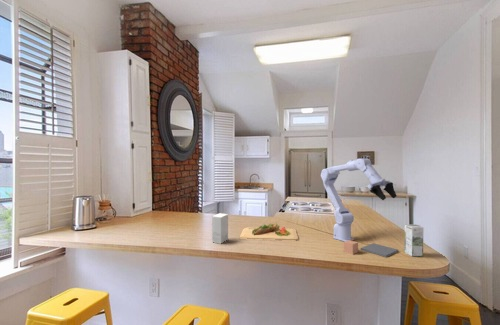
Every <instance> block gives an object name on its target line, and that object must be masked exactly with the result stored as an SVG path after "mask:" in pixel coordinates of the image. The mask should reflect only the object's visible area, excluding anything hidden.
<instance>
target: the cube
mask: <svg viewBox="0 0 500 325" xmlns="http://www.w3.org/2000/svg"><path fill="white" fill-rule="evenodd" d="M343 252H345V253H346V254H350V255H354V254H357V253H359V242H357V241H354V240H351V241H350V240H348V241H343Z"/></svg>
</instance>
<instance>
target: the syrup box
mask: <svg viewBox="0 0 500 325" xmlns="http://www.w3.org/2000/svg"><path fill="white" fill-rule="evenodd" d="M404 253H405V254H406V255H409V256H410V257H424V227H423V226H421V225H420V224H404Z"/></svg>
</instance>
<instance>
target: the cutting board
mask: <svg viewBox="0 0 500 325" xmlns="http://www.w3.org/2000/svg"><path fill="white" fill-rule="evenodd" d="M240 238H247V239H275V240H274V241H282V240H296V241H299V236H298V233H297V230H296V229H295V228H291V227H290V228H289V227H287V228H286V227H285V226H283V227H280V225H278V223H269V224H267V225H266V224H265V223H263V224H262V225H260V226H259V227H251V226H250V227H248V226H247V227H244V228H243V229H242V231H241V233H240V235H239V239H240Z"/></svg>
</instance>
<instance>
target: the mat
mask: <svg viewBox="0 0 500 325" xmlns="http://www.w3.org/2000/svg"><path fill="white" fill-rule="evenodd" d="M360 251H363V252H366V253H370V254H374V255H377V256H380V257H384V258H388V257H390V256H392V255H394V254H396V253H398V252H399V249H397V248H393V247H389V246H386V245H381V244H377V243H371V244H368V245H365V246H362V247H360Z"/></svg>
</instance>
